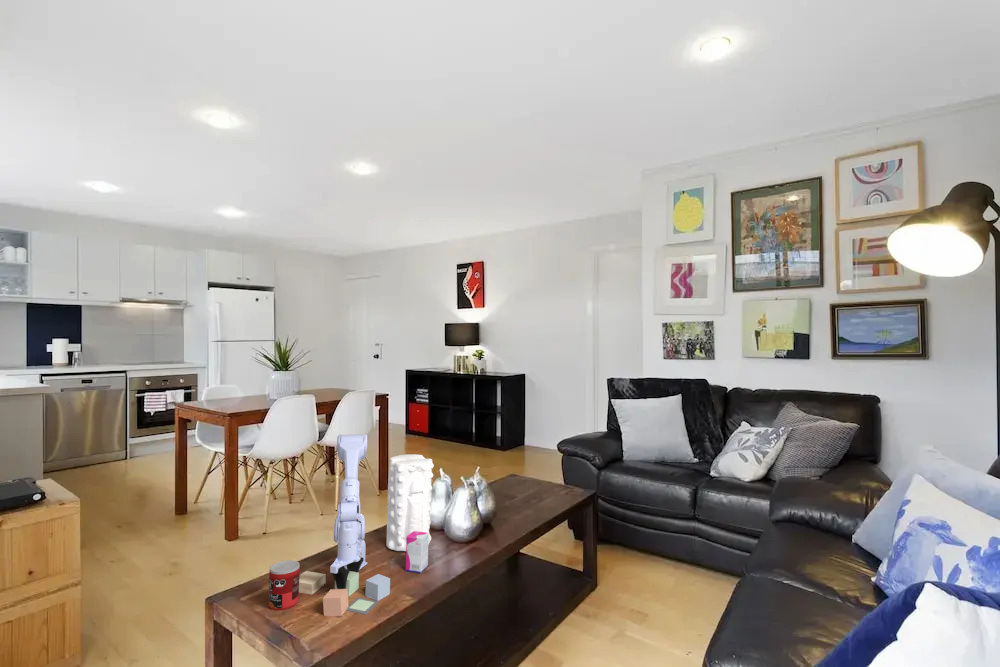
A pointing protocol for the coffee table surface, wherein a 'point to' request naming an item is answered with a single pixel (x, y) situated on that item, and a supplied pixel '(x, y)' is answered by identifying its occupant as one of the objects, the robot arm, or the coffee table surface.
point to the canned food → (284, 585)
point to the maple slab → (311, 582)
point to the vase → (408, 498)
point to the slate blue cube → (377, 587)
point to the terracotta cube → (335, 602)
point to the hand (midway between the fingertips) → (346, 586)
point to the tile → (362, 606)
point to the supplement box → (417, 551)
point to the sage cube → (351, 582)
